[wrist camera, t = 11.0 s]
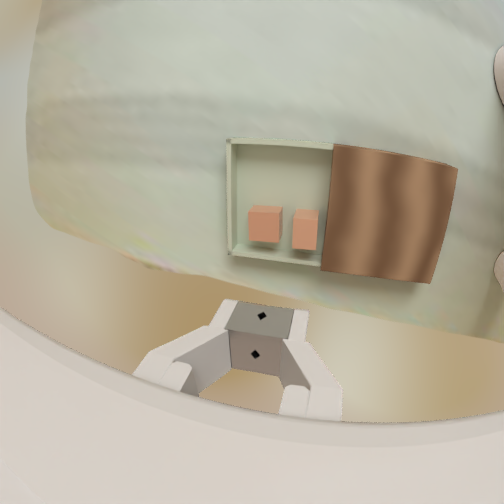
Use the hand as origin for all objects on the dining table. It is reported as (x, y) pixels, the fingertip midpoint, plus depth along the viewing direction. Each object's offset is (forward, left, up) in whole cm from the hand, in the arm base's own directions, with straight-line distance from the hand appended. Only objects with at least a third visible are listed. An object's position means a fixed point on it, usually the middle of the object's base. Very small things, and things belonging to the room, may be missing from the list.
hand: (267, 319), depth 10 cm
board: (-10, +4, -29) cm, 31 cm away
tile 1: (+5, +7, -26) cm, 27 cm away
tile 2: (+2, +7, -26) cm, 27 cm away
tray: (+4, +4, -29) cm, 29 cm away
